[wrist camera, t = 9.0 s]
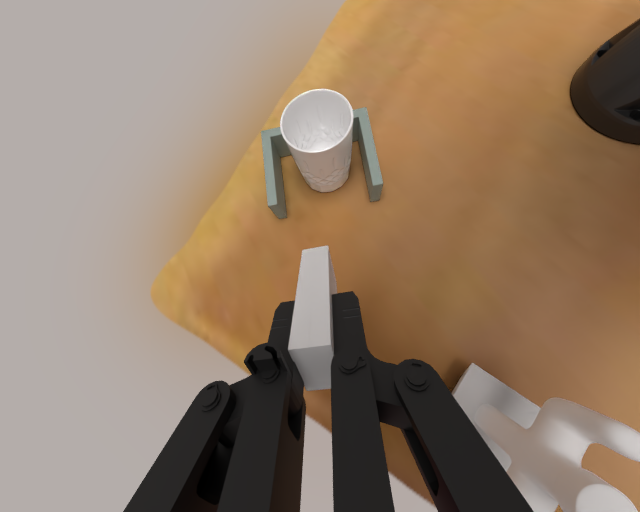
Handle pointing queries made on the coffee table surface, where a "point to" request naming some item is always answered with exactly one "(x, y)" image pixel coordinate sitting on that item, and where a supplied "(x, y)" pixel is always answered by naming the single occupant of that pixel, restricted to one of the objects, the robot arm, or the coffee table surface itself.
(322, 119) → the white cup
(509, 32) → the coffee table surface
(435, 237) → the coffee table surface
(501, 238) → the coffee table surface
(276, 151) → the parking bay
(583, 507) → the figurine
